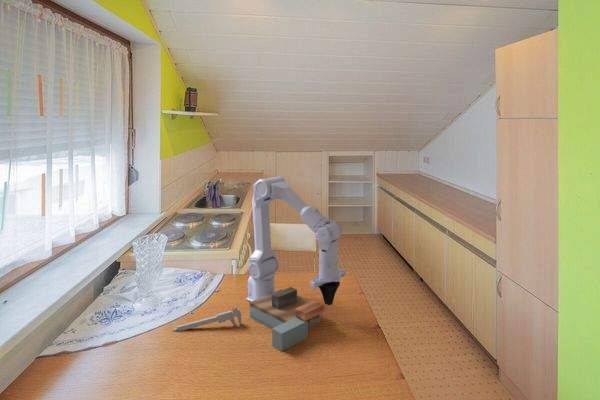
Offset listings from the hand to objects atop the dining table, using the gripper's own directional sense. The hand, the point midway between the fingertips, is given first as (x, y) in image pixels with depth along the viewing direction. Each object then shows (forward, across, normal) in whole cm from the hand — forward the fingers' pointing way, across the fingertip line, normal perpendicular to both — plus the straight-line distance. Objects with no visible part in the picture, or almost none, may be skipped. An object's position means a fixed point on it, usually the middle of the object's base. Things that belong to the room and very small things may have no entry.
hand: (328, 303), depth 123 cm
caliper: (+6, -28, +24) cm, 38 cm away
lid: (+3, -8, +9) cm, 13 cm away
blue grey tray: (+6, -11, +9) cm, 16 cm away
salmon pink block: (0, -8, 0) cm, 8 cm away
